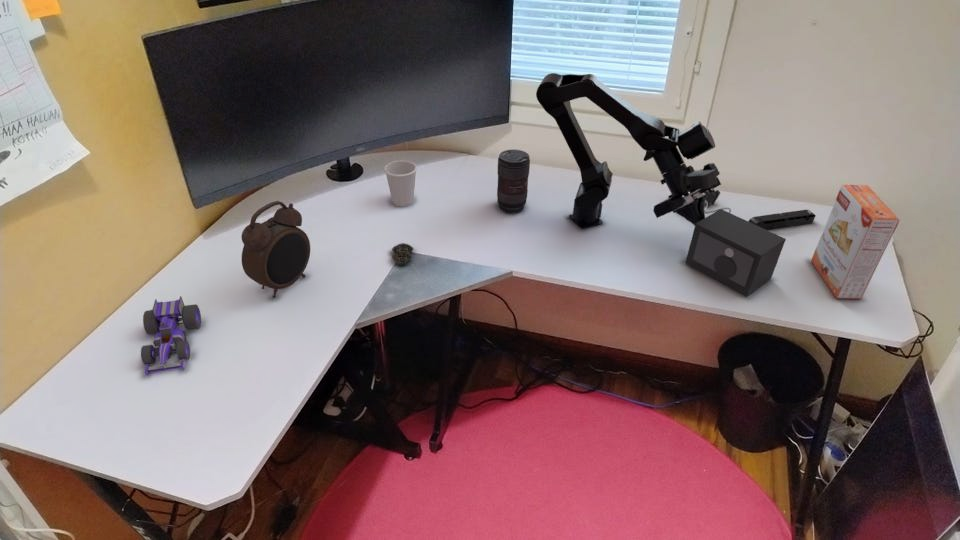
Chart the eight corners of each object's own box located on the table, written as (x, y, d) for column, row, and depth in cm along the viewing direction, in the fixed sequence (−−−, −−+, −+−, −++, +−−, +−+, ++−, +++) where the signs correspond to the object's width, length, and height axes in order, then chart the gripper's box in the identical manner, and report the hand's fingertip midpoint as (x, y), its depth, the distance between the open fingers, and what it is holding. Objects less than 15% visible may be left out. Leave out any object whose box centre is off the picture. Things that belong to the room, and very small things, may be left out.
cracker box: (808, 261, 145) (840, 183, 133) (834, 262, 145) (869, 183, 132) (833, 299, 134) (871, 217, 121) (861, 300, 134) (902, 218, 121)
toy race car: (137, 377, 113) (125, 351, 110) (153, 324, 125) (142, 299, 121) (192, 369, 115) (183, 343, 111) (202, 317, 127) (194, 292, 123)
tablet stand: (752, 232, 155) (755, 222, 153) (746, 226, 157) (749, 216, 155) (813, 223, 158) (817, 213, 157) (806, 218, 160) (810, 208, 159)
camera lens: (532, 204, 164) (536, 153, 155) (517, 218, 159) (520, 165, 150) (506, 196, 168) (508, 145, 159) (490, 209, 162) (492, 157, 153)
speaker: (683, 263, 144) (694, 224, 137) (709, 247, 149) (720, 208, 143) (745, 297, 134) (760, 256, 127) (771, 279, 139) (786, 238, 133)
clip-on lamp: (732, 234, 159) (700, 188, 171) (744, 216, 155) (710, 170, 166) (693, 237, 156) (663, 189, 167) (703, 218, 151) (672, 171, 163)
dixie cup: (401, 190, 170) (399, 157, 164) (425, 199, 166) (423, 166, 160) (380, 202, 164) (377, 168, 158) (404, 212, 161) (401, 178, 155)
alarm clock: (272, 308, 129) (252, 228, 117) (248, 296, 132) (226, 217, 120) (320, 273, 139) (307, 196, 127) (297, 262, 142) (282, 186, 130)
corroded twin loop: (390, 266, 141) (390, 262, 141) (392, 246, 148) (392, 243, 147) (412, 266, 142) (412, 262, 141) (413, 246, 148) (413, 242, 147)
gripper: (674, 167, 131) (708, 233, 131) (723, 143, 141) (754, 204, 140) (638, 186, 140) (669, 247, 140) (686, 162, 150) (716, 219, 150)
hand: (703, 229), depth 142 cm, fingers closed, pressing on speaker
